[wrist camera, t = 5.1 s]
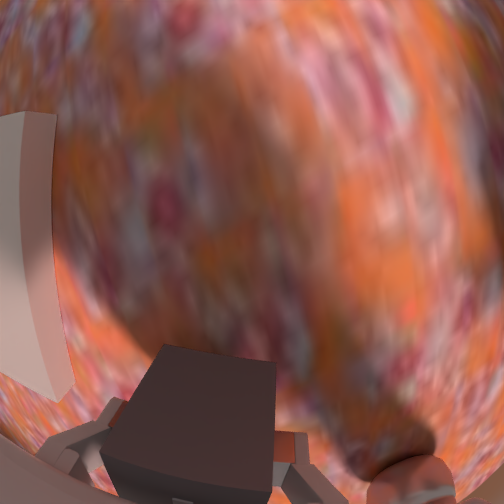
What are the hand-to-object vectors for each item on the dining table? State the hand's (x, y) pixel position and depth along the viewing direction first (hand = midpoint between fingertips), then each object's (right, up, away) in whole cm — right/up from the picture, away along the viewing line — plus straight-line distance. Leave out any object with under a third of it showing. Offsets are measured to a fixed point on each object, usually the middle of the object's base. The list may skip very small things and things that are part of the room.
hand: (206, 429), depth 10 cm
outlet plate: (-19, +7, +4) cm, 20 cm away
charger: (0, +1, +2) cm, 2 cm away
